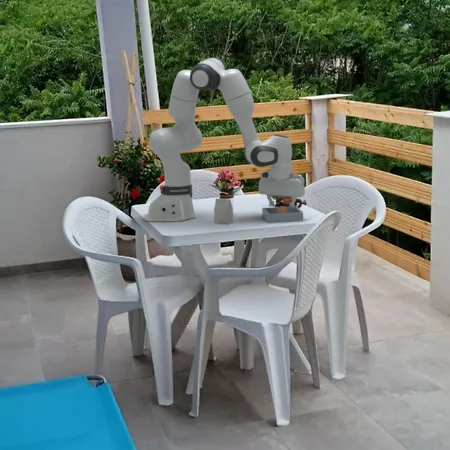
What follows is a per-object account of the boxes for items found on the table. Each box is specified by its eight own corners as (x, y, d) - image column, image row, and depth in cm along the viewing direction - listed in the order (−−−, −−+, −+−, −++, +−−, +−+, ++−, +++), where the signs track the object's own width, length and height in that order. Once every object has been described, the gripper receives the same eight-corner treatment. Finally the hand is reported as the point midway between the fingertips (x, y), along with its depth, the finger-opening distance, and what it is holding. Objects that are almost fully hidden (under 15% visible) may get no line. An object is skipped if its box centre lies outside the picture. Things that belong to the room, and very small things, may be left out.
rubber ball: (278, 219, 325) (277, 207, 324) (274, 217, 330) (274, 205, 329) (289, 218, 326) (289, 206, 325) (286, 216, 331) (286, 204, 330)
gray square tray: (267, 222, 320) (266, 214, 320) (262, 215, 335) (262, 207, 334) (303, 221, 321) (303, 212, 321) (296, 214, 336) (296, 206, 335)
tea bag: (228, 224, 320) (227, 200, 318) (214, 223, 324) (213, 199, 321) (233, 222, 323) (232, 198, 321) (219, 221, 327) (218, 197, 325)
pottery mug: (277, 216, 335) (272, 198, 338) (279, 222, 344) (275, 204, 347) (304, 208, 334) (299, 191, 336) (306, 214, 343) (301, 197, 345)
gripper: (307, 173, 322) (307, 206, 325) (263, 171, 332) (264, 203, 335) (300, 176, 317) (300, 209, 320) (256, 173, 327) (257, 205, 330)
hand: (281, 206), depth 327 cm, fingers open, 8 cm apart
